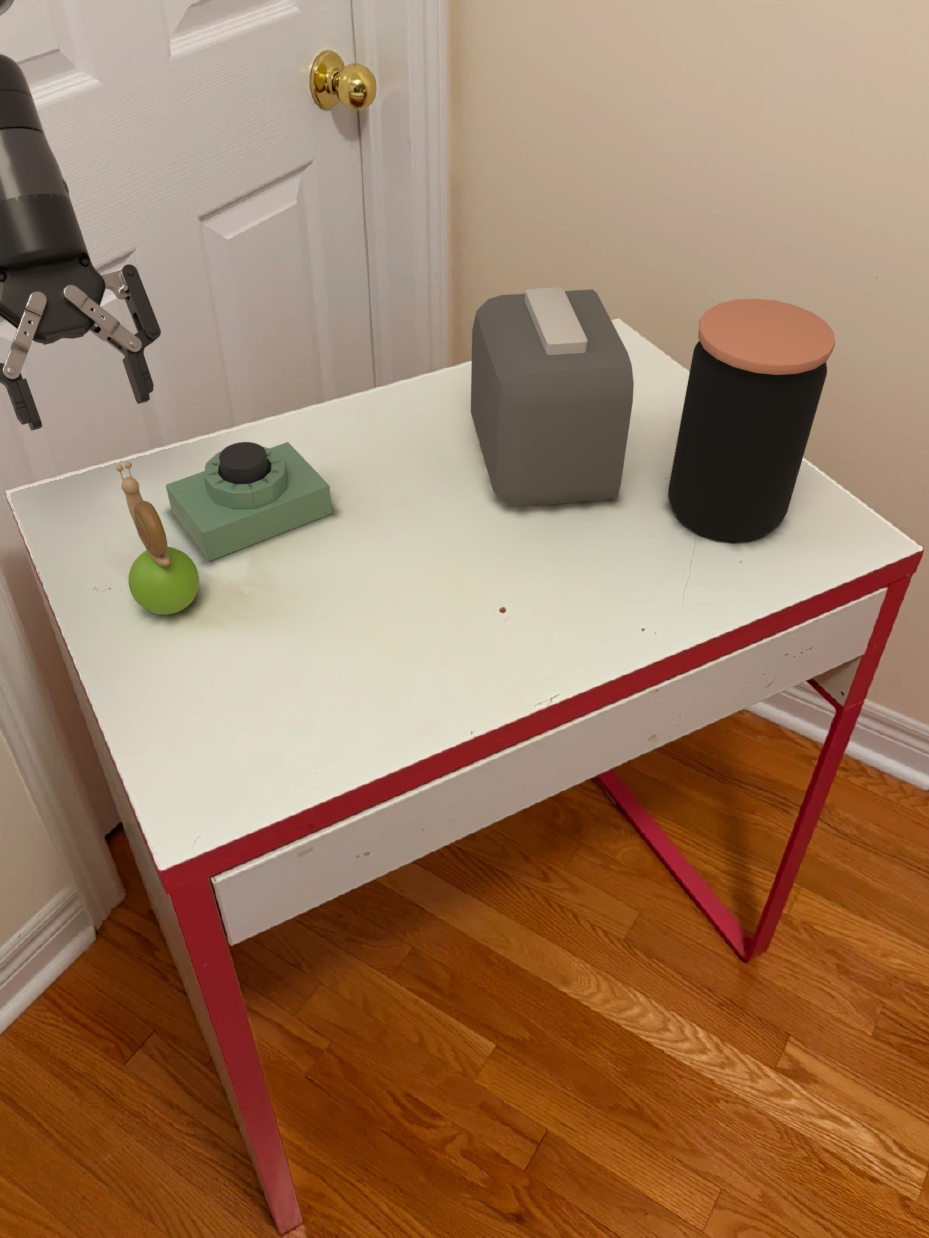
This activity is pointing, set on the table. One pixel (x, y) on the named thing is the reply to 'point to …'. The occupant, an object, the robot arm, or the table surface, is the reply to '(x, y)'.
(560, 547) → the table surface
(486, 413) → the alarm clock
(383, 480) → the table surface
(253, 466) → the black button
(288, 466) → the green push button box
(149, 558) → the snail figurine
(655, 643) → the table surface
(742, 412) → the coffee jar
